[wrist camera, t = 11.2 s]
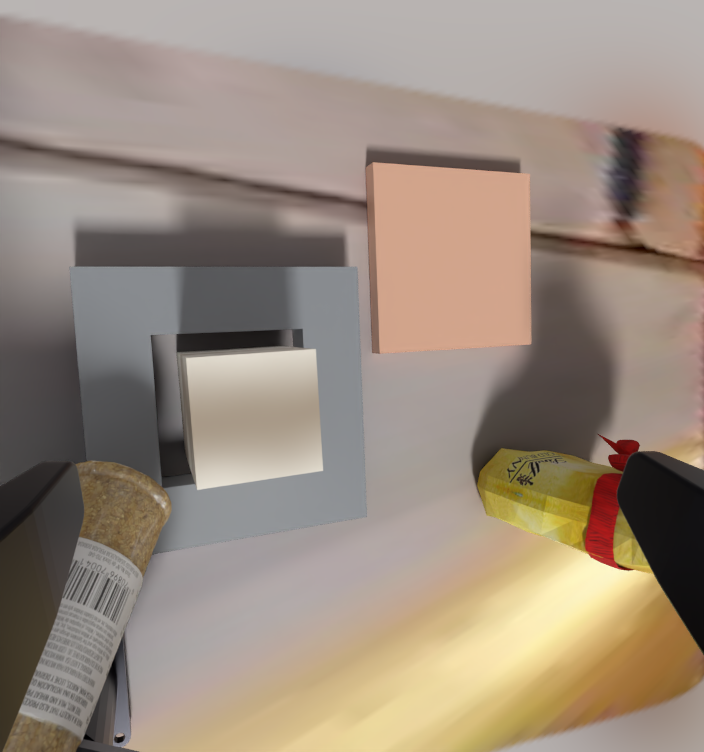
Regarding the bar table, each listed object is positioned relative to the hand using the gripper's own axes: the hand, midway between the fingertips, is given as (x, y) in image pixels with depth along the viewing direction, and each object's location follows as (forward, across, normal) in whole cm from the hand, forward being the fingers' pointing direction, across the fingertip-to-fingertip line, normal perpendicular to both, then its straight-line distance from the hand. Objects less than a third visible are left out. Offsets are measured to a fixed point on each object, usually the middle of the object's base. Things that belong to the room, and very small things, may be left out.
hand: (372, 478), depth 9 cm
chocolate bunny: (+20, -16, +15) cm, 29 cm away
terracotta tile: (+23, -9, +2) cm, 25 cm away
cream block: (+18, +4, +8) cm, 20 cm away
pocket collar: (+18, +4, +8) cm, 20 cm away
